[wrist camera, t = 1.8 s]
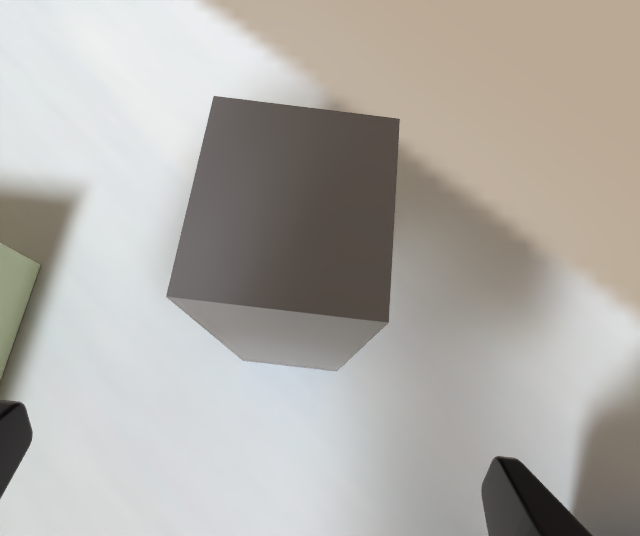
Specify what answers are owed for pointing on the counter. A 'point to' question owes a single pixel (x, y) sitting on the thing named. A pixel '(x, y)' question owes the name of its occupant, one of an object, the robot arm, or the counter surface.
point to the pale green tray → (13, 296)
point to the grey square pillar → (289, 232)
